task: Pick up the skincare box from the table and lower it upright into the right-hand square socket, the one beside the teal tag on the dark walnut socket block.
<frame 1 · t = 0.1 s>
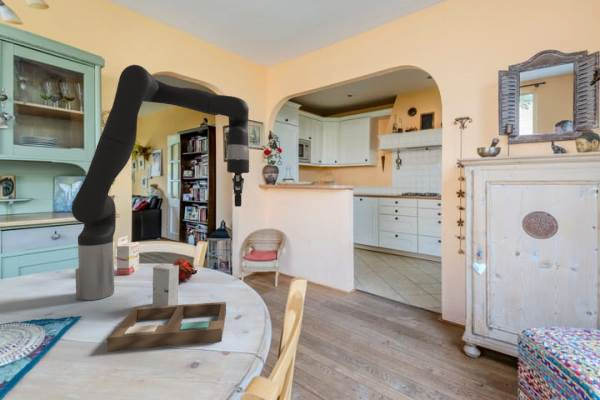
hand: (238, 205, 99), 29 cm above the table, tool pointing down, fingers open, 8 cm apart
socket block: (174, 328, 71), on the table
dragon fruit: (183, 279, 108), on the table
ink cartridge box: (128, 272, 116), on the table
skincare box: (166, 306, 85), on the table
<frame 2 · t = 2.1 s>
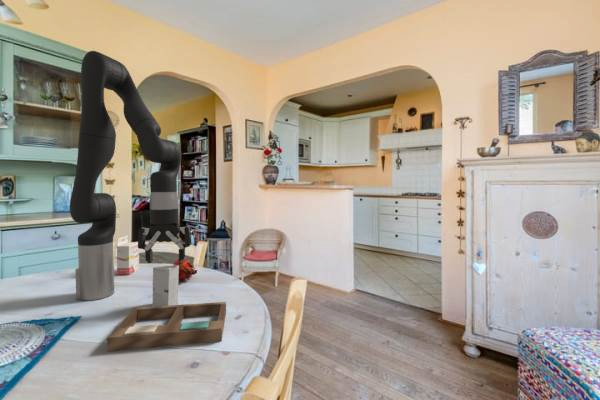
hand: (165, 261, 84), 13 cm above the table, tool pointing down, fingers open, 8 cm apart
nothing on the table moved.
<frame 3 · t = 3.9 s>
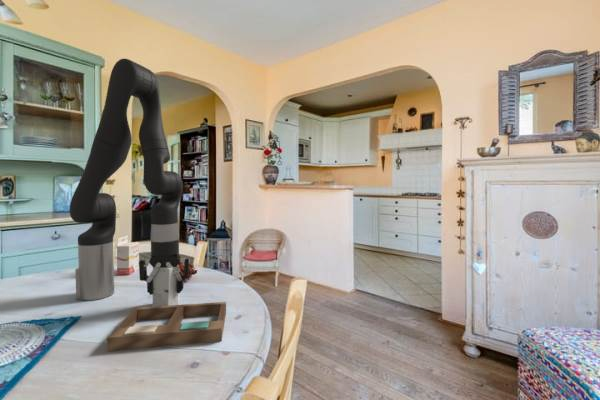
hand: (165, 292, 84), 4 cm above the table, tool pointing down, fingers closed on skincare box, 7 cm apart
skincare box: (166, 306, 85), on the table, touching gripper
everything else where it was.
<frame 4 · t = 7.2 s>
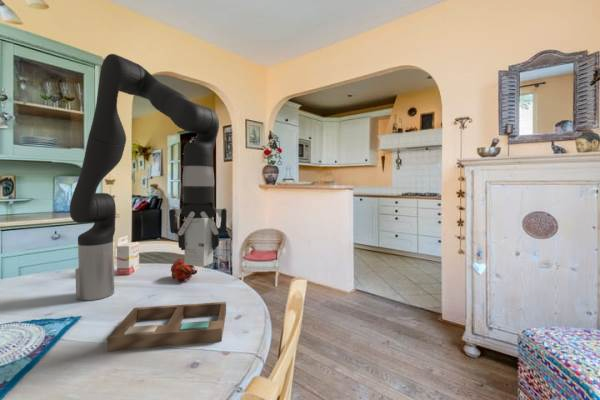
hand: (199, 248, 72), 20 cm above the table, tool pointing down, fingers closed on skincare box, 7 cm apart
skincare box: (199, 264, 73), point 16 cm above the table, touching gripper
everything else where it was.
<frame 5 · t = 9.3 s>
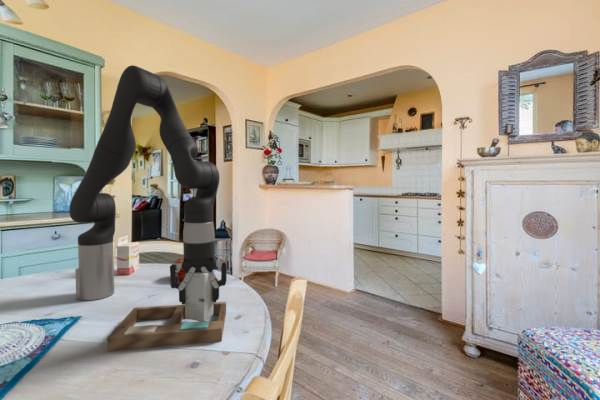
hand: (199, 302, 73), 6 cm above the table, tool pointing down, fingers closed on skincare box, 7 cm apart
skincare box: (200, 317, 73), point 2 cm above the table, touching gripper
everything else where it was.
when the fingers open (5 cm above the table, at t = 10.9 s): skincare box stays where it is, resting in socket block.
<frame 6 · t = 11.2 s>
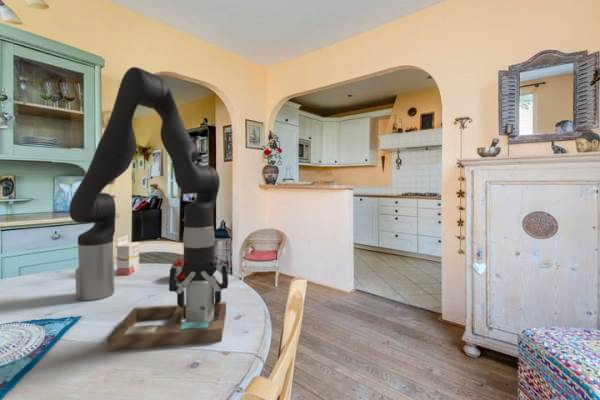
hand: (199, 305, 73), 5 cm above the table, tool pointing down, fingers open, 8 cm apart
skincare box: (200, 325, 74), resting in socket block
everything else where it was.
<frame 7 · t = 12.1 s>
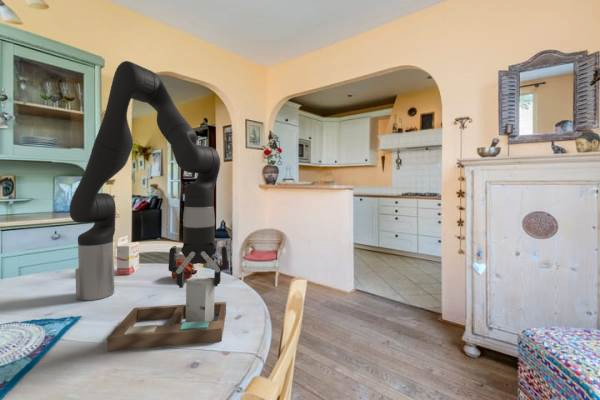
hand: (199, 286, 73), 10 cm above the table, tool pointing down, fingers open, 8 cm apart
skincare box: (200, 324, 74), resting in socket block, touching gripper
everything else where it was.
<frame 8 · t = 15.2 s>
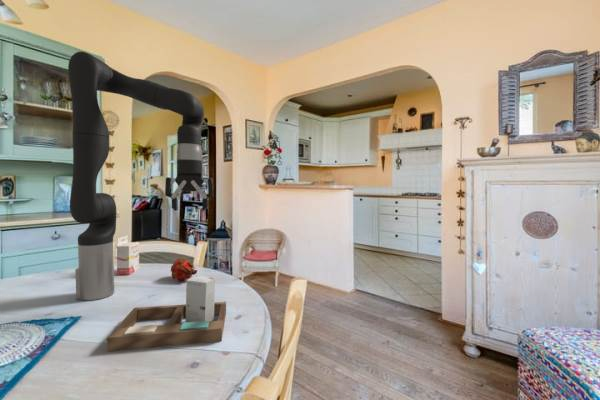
hand: (190, 210, 90), 28 cm above the table, tool pointing down, fingers open, 8 cm apart
skincare box: (200, 325, 74), resting in socket block
everything else where it was.
at the end: skincare box inside the target area on the socket block (0.2 cm from its centre), point 0.0 cm above the socket block's base; skincare box tilted 0°; the gripper is holding nothing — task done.
